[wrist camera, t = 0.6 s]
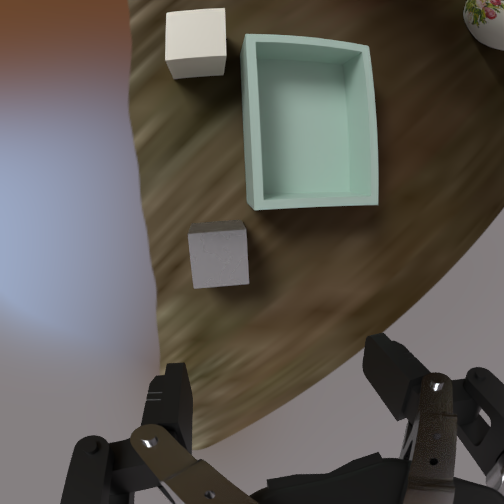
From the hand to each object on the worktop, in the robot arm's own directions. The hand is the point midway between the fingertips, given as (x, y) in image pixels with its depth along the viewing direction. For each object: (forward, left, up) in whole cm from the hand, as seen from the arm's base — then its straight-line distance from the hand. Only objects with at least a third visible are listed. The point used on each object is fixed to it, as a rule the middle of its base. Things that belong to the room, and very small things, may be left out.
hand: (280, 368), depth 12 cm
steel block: (0, -2, -20) cm, 21 cm away
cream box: (-20, -3, -20) cm, 29 cm away
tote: (-12, +7, -20) cm, 25 cm away
